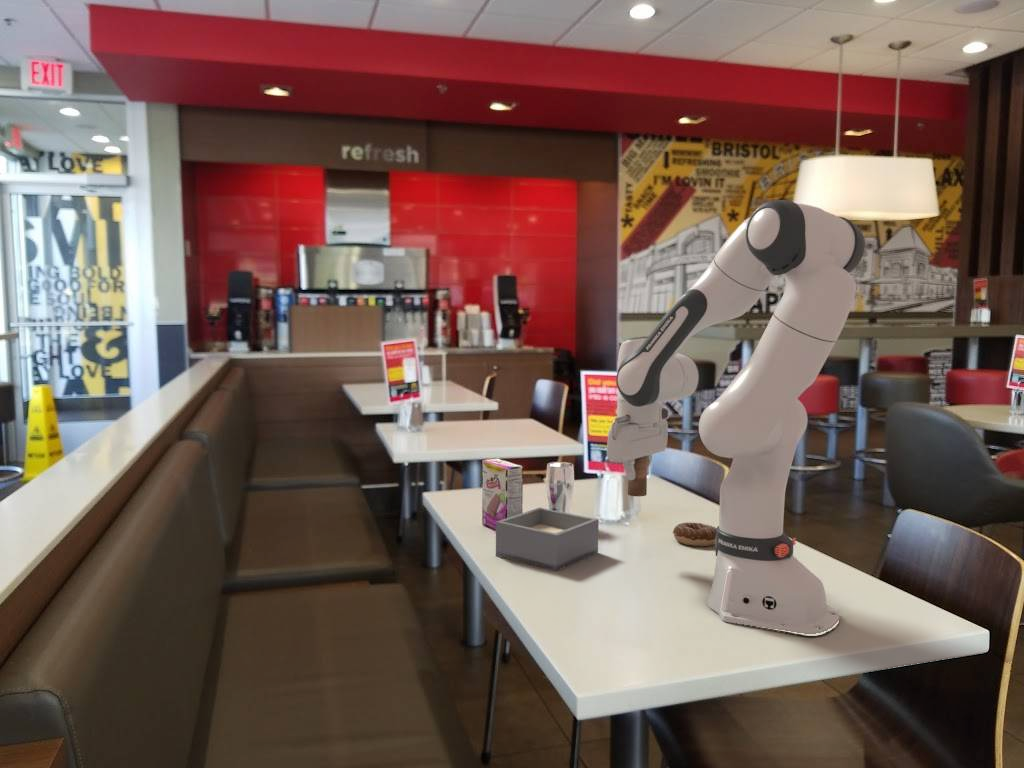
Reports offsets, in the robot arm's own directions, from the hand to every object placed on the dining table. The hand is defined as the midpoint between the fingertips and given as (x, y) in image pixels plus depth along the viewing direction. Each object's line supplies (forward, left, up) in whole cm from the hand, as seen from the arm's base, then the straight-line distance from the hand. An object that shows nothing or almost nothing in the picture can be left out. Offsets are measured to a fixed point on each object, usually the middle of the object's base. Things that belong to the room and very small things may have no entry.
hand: (637, 477), depth 170 cm
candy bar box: (+36, +1, -18) cm, 40 cm away
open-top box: (+16, +10, -18) cm, 26 cm away
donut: (-5, -20, -18) cm, 27 cm away
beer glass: (+28, -12, -18) cm, 36 cm away
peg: (0, 0, -4) cm, 4 cm away
